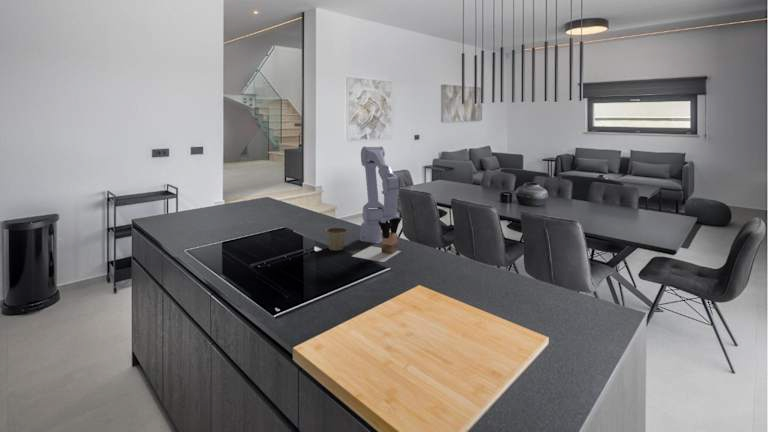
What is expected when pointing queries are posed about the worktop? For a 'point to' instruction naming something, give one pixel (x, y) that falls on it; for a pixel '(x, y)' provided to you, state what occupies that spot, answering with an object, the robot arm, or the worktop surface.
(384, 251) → the walnut block
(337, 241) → the flower pot
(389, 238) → the terracotta block
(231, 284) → the worktop surface
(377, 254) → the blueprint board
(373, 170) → the robot arm
